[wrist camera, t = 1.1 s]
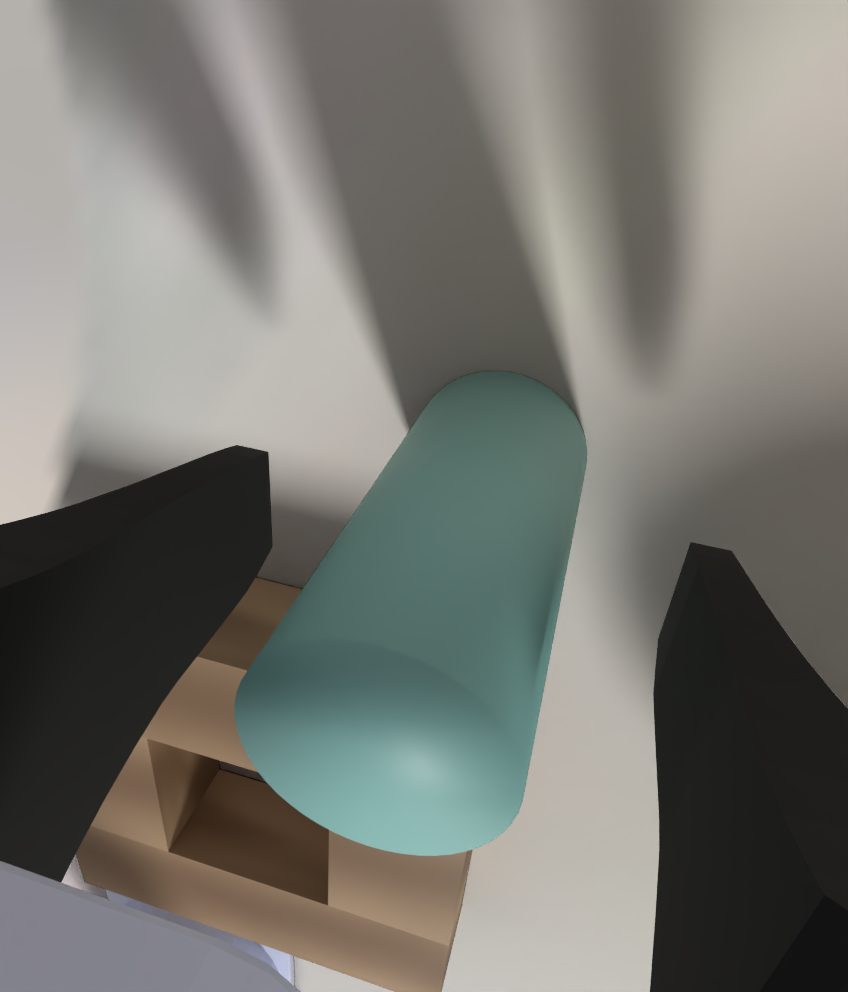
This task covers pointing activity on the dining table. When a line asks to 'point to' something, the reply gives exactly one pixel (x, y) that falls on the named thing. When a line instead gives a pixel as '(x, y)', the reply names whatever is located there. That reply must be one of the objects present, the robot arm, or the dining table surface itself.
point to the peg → (427, 629)
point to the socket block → (262, 837)
